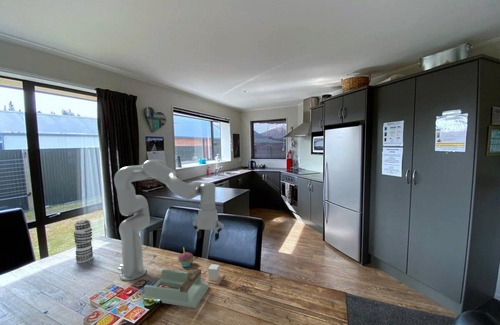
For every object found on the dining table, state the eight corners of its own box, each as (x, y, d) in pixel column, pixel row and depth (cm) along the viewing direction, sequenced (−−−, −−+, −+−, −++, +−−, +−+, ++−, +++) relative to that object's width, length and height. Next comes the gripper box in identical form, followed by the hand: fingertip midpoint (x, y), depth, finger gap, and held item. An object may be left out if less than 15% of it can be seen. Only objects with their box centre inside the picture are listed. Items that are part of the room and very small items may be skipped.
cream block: (208, 280, 108) (208, 268, 107) (211, 274, 112) (211, 264, 112) (216, 281, 107) (216, 269, 106) (219, 275, 111) (219, 264, 111)
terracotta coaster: (203, 283, 106) (203, 281, 106) (210, 274, 114) (210, 272, 114) (218, 285, 105) (218, 283, 105) (224, 275, 112) (224, 274, 112)
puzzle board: (142, 300, 94) (142, 286, 94) (162, 281, 108) (161, 269, 108) (195, 308, 89) (195, 293, 89) (208, 287, 103) (208, 274, 102)
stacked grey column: (92, 254, 139) (90, 217, 137) (94, 259, 132) (92, 220, 131) (75, 259, 132) (72, 220, 131) (75, 265, 126) (73, 224, 124)
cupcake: (188, 269, 119) (188, 249, 118) (175, 268, 120) (174, 248, 120) (195, 261, 127) (195, 242, 127) (183, 260, 129) (182, 241, 128)
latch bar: (180, 291, 90) (179, 280, 90) (195, 272, 104) (195, 262, 104) (186, 292, 89) (186, 281, 89) (201, 273, 103) (200, 263, 103)
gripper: (189, 207, 106) (189, 240, 107) (221, 209, 103) (221, 243, 104) (196, 204, 114) (196, 234, 115) (226, 206, 110) (226, 237, 111)
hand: (208, 239), depth 109 cm, fingers open, 9 cm apart
